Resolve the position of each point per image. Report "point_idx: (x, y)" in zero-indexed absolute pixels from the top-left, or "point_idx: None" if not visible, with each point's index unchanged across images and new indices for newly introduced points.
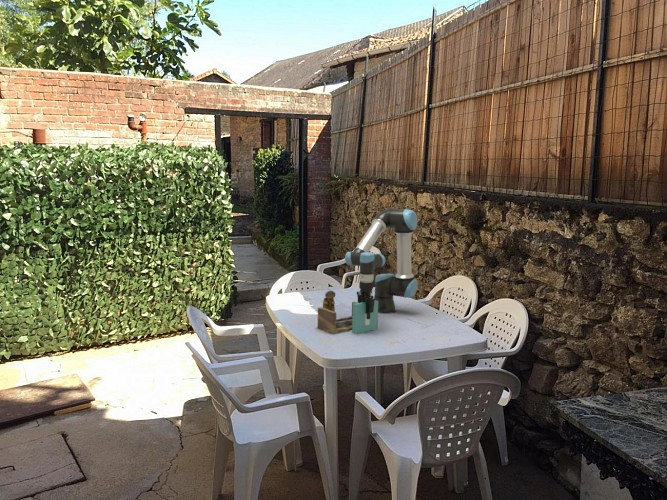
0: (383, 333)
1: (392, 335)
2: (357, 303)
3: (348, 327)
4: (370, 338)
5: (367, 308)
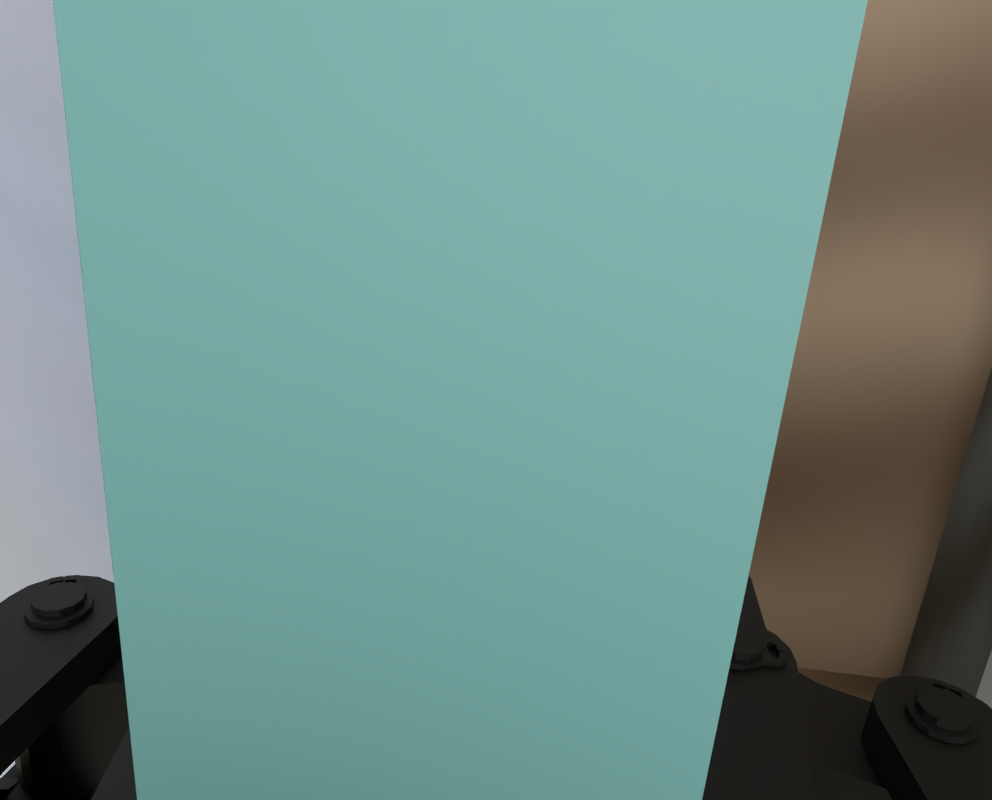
0: None
1: (3, 574)
2: (590, 476)
3: (930, 107)
4: (23, 46)
5: (126, 749)
